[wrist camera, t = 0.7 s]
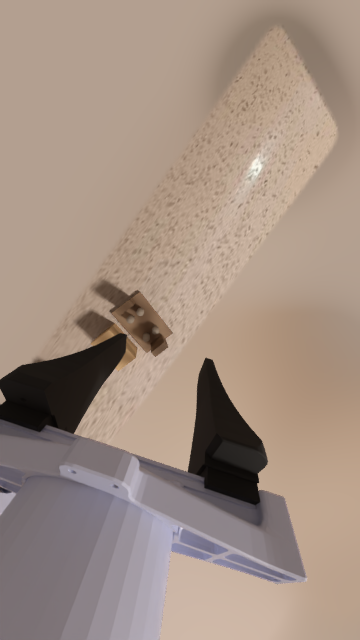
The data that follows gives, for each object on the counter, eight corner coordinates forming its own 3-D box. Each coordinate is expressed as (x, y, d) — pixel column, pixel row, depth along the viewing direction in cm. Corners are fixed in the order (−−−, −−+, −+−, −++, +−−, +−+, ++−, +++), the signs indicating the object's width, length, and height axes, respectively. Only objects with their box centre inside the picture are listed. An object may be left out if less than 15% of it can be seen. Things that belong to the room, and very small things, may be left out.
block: (122, 359, 34) (118, 371, 29) (99, 335, 32) (90, 343, 27) (137, 347, 34) (135, 357, 29) (115, 323, 32) (109, 329, 28)
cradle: (146, 351, 35) (146, 363, 29) (112, 312, 32) (104, 317, 26) (172, 332, 35) (176, 340, 30) (139, 291, 32) (138, 292, 27)
